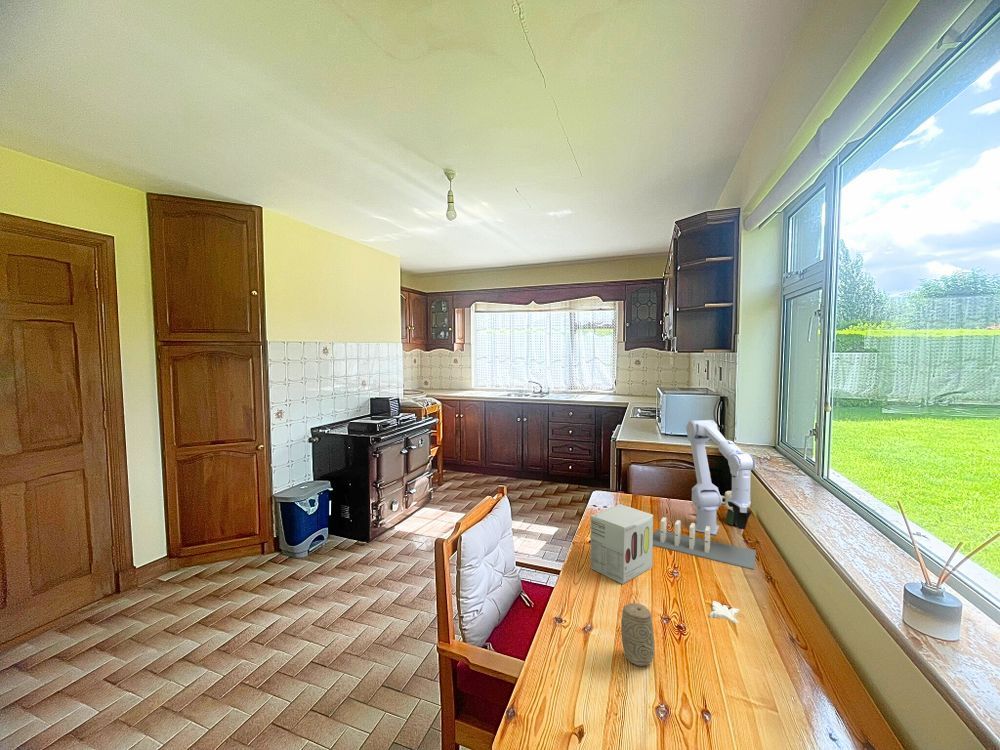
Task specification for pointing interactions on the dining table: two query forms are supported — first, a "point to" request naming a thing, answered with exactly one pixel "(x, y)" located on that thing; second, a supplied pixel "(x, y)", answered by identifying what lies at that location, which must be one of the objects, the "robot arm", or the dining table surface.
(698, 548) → the mat
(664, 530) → the tile
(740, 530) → the tile end
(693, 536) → the tile
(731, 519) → the character mug
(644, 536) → the supplement box
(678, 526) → the tile
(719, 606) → the acanthus leaf ornament
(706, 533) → the tile
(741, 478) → the robot arm
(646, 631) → the carving
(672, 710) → the dining table surface
